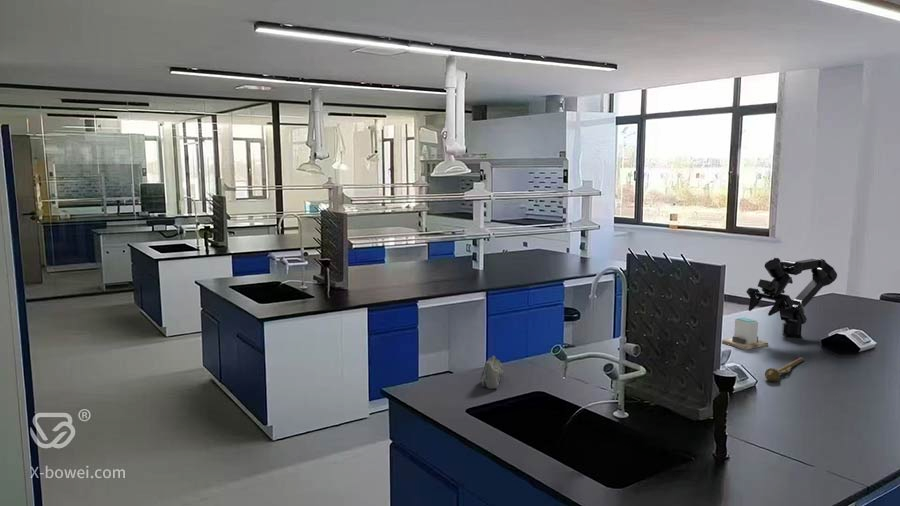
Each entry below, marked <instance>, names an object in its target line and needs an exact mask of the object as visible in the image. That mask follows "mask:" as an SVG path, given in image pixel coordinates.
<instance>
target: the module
mask: <svg viewBox="0 0 900 506" xmlns="http://www.w3.org/2000/svg"><path fill="white" fill-rule="evenodd" d="M758 328H759V321H757V320H755V319H751V318H747V317H737V318H735V319H734V333H733V336H735V337H739V338H742V339H745V340H746V342H745V343H746V344H752V343H757V337H758V330H759V329H758Z"/></svg>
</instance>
